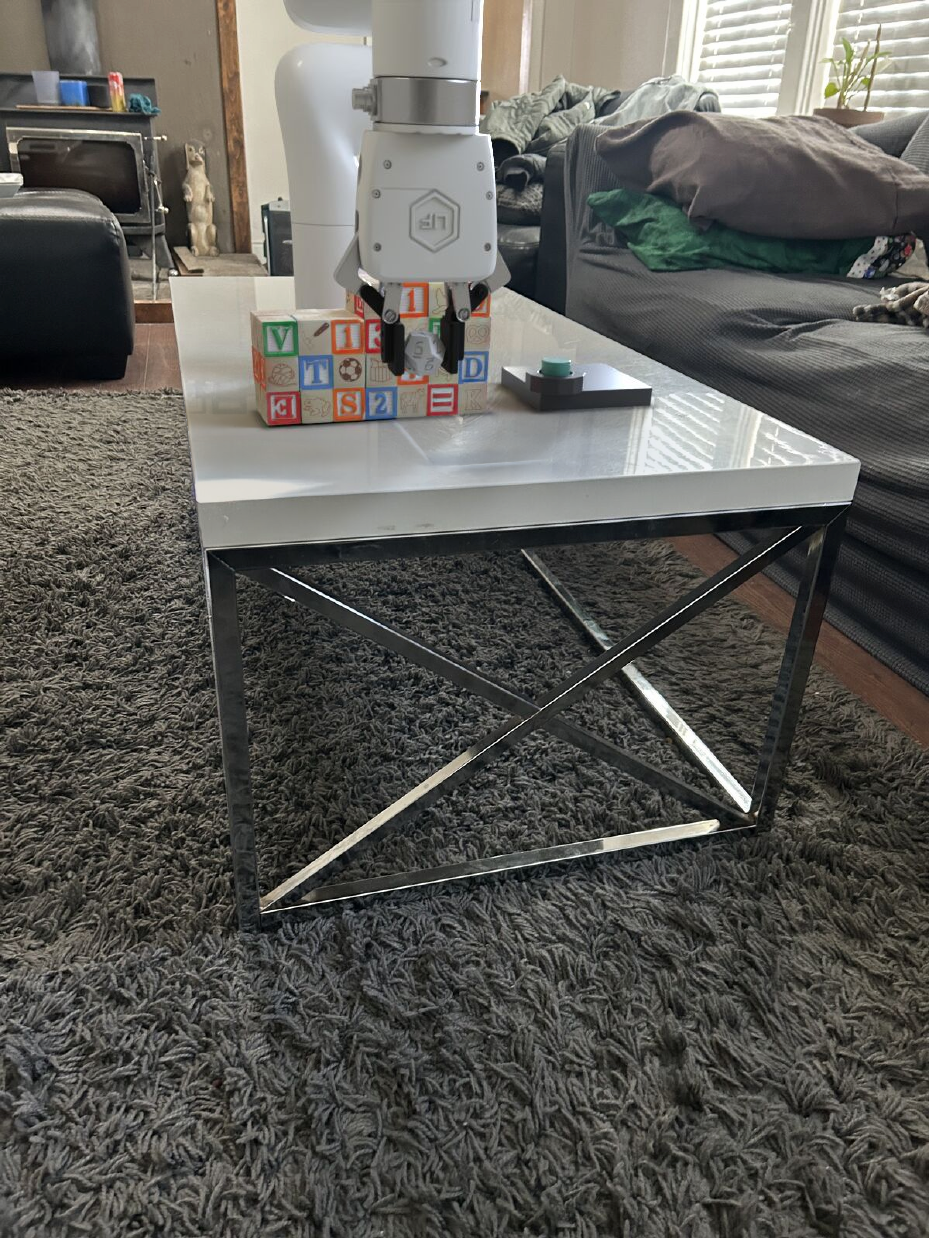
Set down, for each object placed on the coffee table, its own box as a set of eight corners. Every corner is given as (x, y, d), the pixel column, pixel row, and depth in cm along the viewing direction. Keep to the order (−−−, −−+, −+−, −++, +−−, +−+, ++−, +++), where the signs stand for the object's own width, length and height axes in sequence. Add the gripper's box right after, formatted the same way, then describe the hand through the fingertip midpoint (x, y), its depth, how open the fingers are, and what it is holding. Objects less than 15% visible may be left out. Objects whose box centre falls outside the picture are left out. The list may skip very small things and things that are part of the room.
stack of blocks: (266, 428, 86) (257, 284, 80) (255, 411, 91) (245, 275, 85) (488, 413, 93) (493, 279, 87) (465, 398, 98) (469, 271, 92)
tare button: (547, 379, 92) (548, 363, 92) (536, 373, 95) (537, 357, 94) (573, 378, 93) (575, 362, 92) (563, 372, 95) (564, 356, 95)
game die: (410, 379, 74) (410, 340, 72) (392, 368, 77) (392, 330, 75) (451, 376, 75) (452, 337, 74) (433, 365, 78) (433, 328, 77)
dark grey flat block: (536, 416, 92) (538, 379, 91) (493, 385, 104) (494, 352, 102) (656, 410, 96) (660, 374, 94) (602, 380, 107) (605, 348, 105)
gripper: (316, 106, 62) (325, 387, 70) (555, 115, 66) (536, 379, 75) (300, 105, 68) (310, 363, 77) (519, 113, 73) (506, 357, 81)
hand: (422, 368), depth 76 cm, fingers closed on game die, 3 cm apart
